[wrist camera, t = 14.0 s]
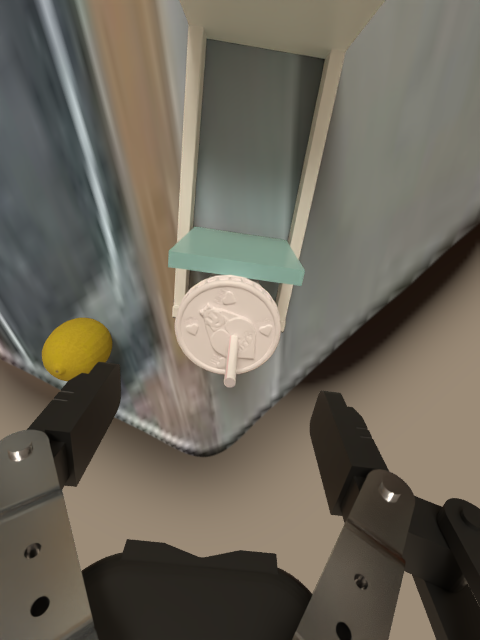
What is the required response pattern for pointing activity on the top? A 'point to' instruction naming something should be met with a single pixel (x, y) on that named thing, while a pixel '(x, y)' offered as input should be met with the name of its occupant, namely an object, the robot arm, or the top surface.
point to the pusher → (237, 256)
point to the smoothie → (228, 325)
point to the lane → (281, 35)
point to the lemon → (76, 348)
